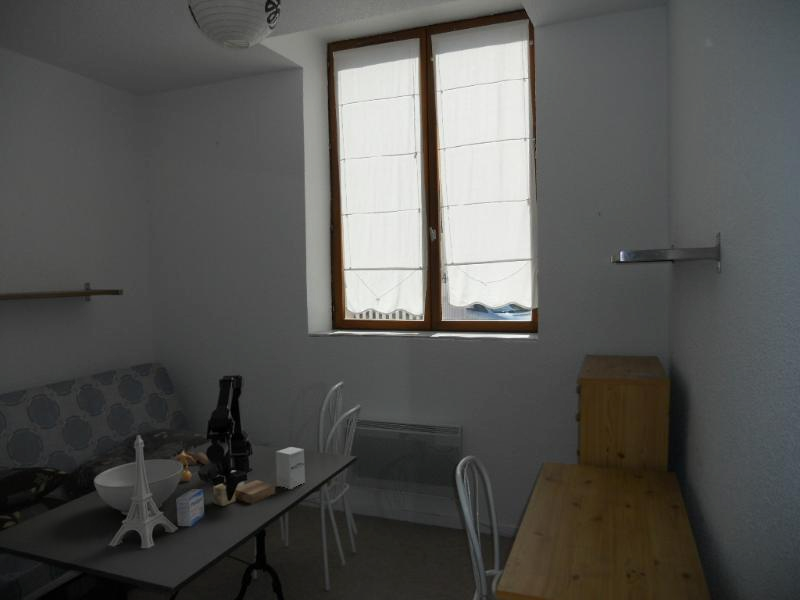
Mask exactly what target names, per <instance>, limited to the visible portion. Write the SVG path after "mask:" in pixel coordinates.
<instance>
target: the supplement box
mask: <svg viewBox="0 0 800 600" xmlns="http://www.w3.org/2000/svg"><path fill="white" fill-rule="evenodd" d="M275 468H276V471H275V473H276V486H277V487H279V486H281V487H280V488H282V487H285V488H284V489H286V488H288V489H287V490H290V489H291V490H292V489H294V487H295V488H297V487H299V486H298V485H300V484H302V485H304V484H303V483H305V484H306V475H305V473H306V471H305V450H304V448H299V447H293V446H289V447H286V448H284V449H283V448H282V449H280V450H277V451H275ZM296 486H297V487H296ZM300 486H301V485H300Z"/></svg>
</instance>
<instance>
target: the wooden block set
mask: <svg viewBox="0 0 800 600" xmlns="http://www.w3.org/2000/svg"><path fill="white" fill-rule="evenodd" d="M185 454H186V455H188V456H191V457H192V458H193V459H194V460H195V461H193V460H192V459H191V458H188V457H186V459H185V461H187V463H188V466H197V461H198V462H200V463H202V464H203V466H205V465H207V464H208V463H210V460H209V459H208V458H207V456H206V454H204V453H202V452H198V453H194V452H193V451H190V452H186V453H185ZM180 461H181V459H180V458H178V462H180ZM195 462H196V463H195ZM183 466H186V465H185V463H184V464H183Z"/></svg>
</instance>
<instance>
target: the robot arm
mask: <svg viewBox="0 0 800 600" xmlns="http://www.w3.org/2000/svg"><path fill="white" fill-rule="evenodd" d="M244 387H245V377H243V376H242V375H241V374H231V375H223V376H222V378H218V389H219V391H218V392H219V394H218V397H217V401H216V402H217V403H216V408H215V409H214V410H213V411H212V412H210V413H211V414H210V417H209V419H208V421H207V429H206V440H207V441H209V440H211V443H210V444H209V446H208V447H207V448H206V450H205V455H206V456H207V458H208V459H209V460H210V463H208V464H207V465H203V466H201V468H200V469H198V470H197V472H196V473H197V475H198V477H199V480H200V481H201V482H206V483H210V482H211V484H212V485H213V486H212V487H214V486H217V485H219V484H223V485H224V486H225V487H226V493H227V499H228V501H230V500H231V499H232V497H233V495H234V492H235V490H236V488H237V486H238V484H239V483H241V482H243V481H244V482H245V481H248V479H249V477H248V476H249V475H248V473H247V472H251V471H253V468H252V467H250V459H249V457H251V456H253V455H254V449H253V448H254V447H253V445H252V443H251V442H252V441H251V440H250V439H249V434H248V433H247V432H246V431H245V429H244V425H243V414H242V407H241V395H242V392H243V390H244ZM232 465H233V466H232ZM232 470H235V472H231V471H232ZM224 480H225V481H226V482H224Z"/></svg>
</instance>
